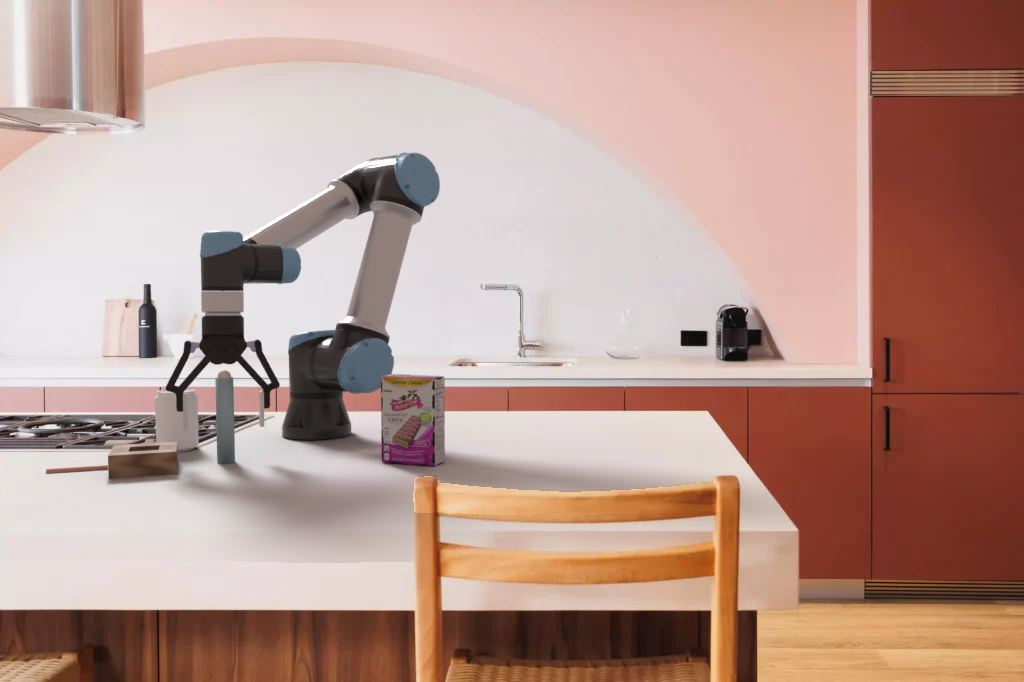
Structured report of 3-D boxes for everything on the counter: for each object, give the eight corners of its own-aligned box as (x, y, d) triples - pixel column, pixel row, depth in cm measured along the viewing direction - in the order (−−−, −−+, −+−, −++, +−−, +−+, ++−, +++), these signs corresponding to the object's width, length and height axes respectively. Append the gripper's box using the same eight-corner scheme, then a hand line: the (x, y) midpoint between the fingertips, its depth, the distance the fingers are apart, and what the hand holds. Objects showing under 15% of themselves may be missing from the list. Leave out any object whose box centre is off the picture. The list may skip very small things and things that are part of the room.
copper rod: (108, 468, 162) (107, 465, 162) (107, 469, 161) (107, 465, 161) (46, 472, 159) (46, 468, 159) (46, 473, 158) (45, 469, 158)
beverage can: (184, 453, 176) (182, 393, 176) (147, 452, 178) (146, 392, 177) (206, 446, 184) (204, 388, 184) (171, 445, 186) (169, 388, 185)
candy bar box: (380, 463, 165) (379, 375, 164) (392, 458, 170) (391, 373, 169) (435, 467, 162) (434, 377, 161) (446, 462, 166) (445, 375, 165)
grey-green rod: (234, 460, 169) (232, 369, 168) (235, 463, 166) (233, 370, 165) (217, 461, 168) (215, 369, 167) (217, 464, 165) (215, 371, 164)
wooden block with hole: (178, 462, 167) (177, 441, 167) (176, 474, 156) (176, 451, 156) (114, 466, 163) (113, 445, 163) (108, 478, 153) (107, 455, 153)
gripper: (289, 313, 173) (290, 421, 174) (151, 314, 165) (153, 427, 166) (293, 314, 166) (294, 427, 167) (149, 315, 158) (151, 433, 159)
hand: (224, 427), depth 167 cm, fingers open, 13 cm apart
